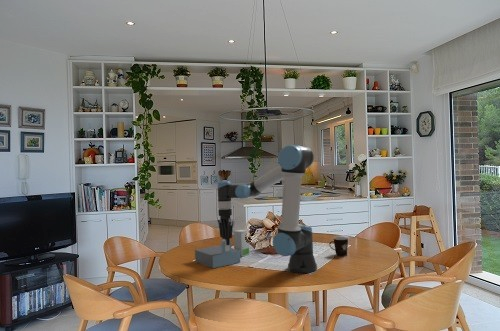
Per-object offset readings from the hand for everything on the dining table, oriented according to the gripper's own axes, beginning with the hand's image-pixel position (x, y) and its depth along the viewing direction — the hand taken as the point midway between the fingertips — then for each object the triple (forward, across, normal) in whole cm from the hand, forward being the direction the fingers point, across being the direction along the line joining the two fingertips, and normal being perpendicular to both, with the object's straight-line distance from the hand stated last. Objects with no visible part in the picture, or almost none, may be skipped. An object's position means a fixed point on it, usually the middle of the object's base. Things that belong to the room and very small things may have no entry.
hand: (226, 250), depth 198 cm
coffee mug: (+9, -28, -62) cm, 69 cm away
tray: (+8, +9, 0) cm, 12 cm away
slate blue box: (+8, +11, 0) cm, 14 cm away
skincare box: (+9, +14, -20) cm, 26 cm away
